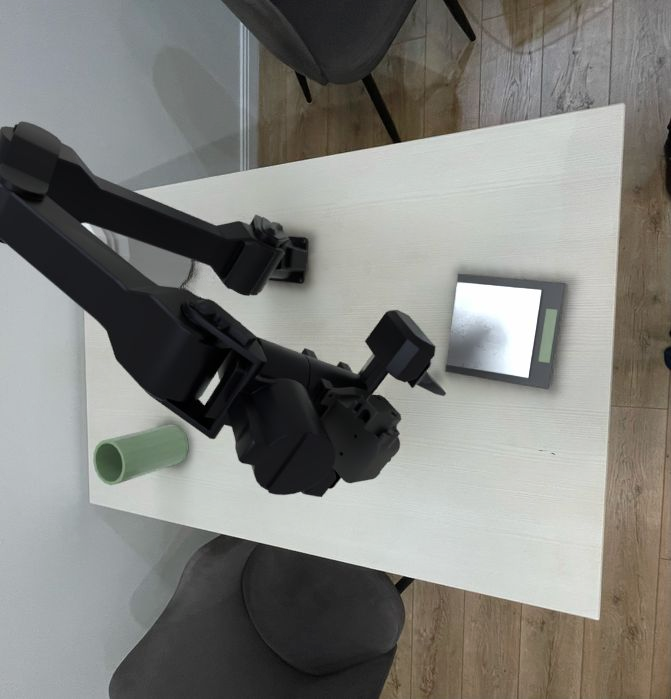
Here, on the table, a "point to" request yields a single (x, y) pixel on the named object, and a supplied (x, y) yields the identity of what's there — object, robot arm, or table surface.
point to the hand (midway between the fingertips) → (415, 425)
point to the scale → (505, 329)
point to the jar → (147, 258)
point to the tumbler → (139, 453)
